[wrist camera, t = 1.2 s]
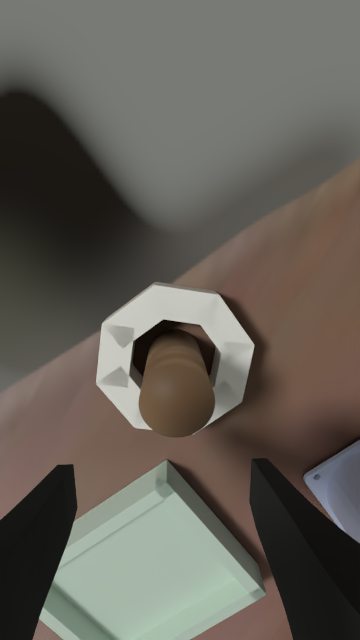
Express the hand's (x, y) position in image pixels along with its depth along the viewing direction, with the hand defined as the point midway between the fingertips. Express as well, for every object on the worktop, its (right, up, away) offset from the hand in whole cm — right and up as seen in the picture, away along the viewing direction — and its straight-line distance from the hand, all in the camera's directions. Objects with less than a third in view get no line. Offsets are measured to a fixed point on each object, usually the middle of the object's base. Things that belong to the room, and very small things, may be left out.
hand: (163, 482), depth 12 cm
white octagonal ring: (0, +4, +9) cm, 10 cm away
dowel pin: (0, +4, +9) cm, 10 cm away
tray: (-3, -14, +13) cm, 19 cm away
